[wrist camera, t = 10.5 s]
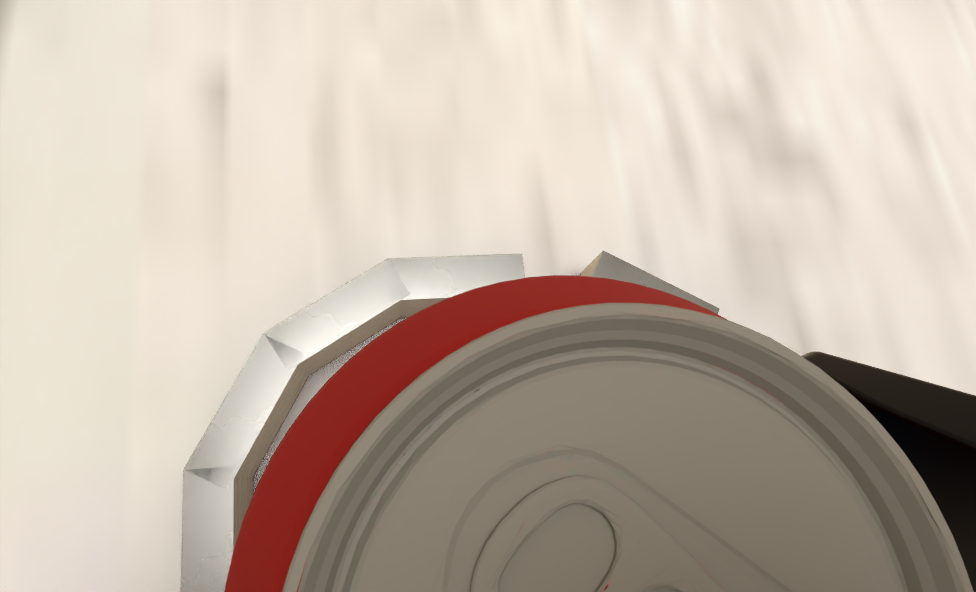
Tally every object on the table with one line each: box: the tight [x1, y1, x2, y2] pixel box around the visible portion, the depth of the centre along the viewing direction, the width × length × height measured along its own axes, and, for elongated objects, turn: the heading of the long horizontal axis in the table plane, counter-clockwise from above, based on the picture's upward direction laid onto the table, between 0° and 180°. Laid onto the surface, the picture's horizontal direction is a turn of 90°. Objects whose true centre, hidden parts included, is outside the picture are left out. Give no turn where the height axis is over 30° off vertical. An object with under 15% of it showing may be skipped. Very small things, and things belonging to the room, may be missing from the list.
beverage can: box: [225, 275, 974, 592], centre depth 10 cm, size 7×7×12 cm
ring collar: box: [181, 251, 719, 592], centre depth 15 cm, size 12×12×2 cm
